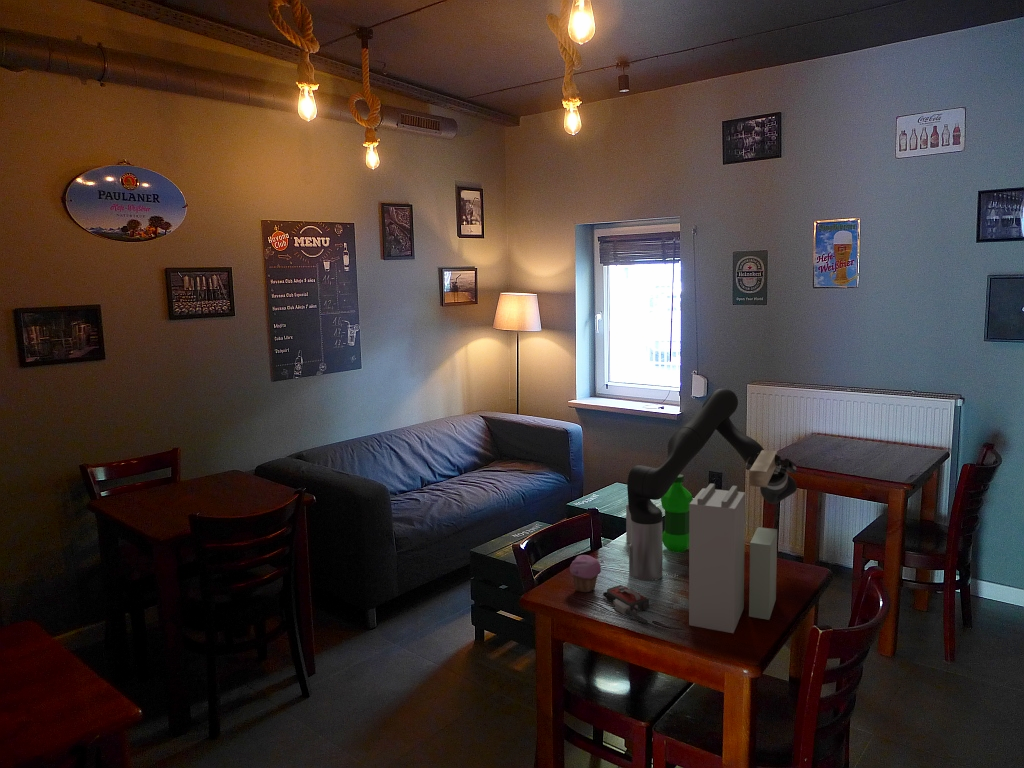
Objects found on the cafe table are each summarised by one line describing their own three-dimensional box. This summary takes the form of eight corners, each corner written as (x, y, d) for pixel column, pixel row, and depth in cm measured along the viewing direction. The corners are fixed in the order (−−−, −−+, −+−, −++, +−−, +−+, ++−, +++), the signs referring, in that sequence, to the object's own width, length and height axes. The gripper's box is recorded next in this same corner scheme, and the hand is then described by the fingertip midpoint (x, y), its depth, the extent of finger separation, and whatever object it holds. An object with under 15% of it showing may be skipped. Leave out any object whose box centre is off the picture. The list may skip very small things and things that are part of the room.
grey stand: (689, 625, 183) (689, 497, 179) (702, 601, 196) (702, 482, 192) (733, 633, 178) (734, 502, 174) (743, 608, 192) (745, 486, 187)
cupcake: (579, 581, 213) (578, 548, 211) (606, 587, 208) (605, 554, 207) (565, 592, 205) (564, 558, 204) (592, 598, 201) (592, 564, 199)
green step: (749, 616, 187) (750, 542, 184) (756, 596, 199) (757, 527, 196) (769, 619, 185) (770, 545, 182) (775, 599, 196) (777, 529, 194)
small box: (638, 546, 239) (638, 509, 238) (625, 541, 244) (625, 504, 243) (656, 541, 244) (656, 504, 242) (643, 536, 249) (643, 500, 247)
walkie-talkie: (596, 600, 200) (643, 628, 183) (596, 585, 200) (643, 612, 183) (621, 592, 205) (669, 619, 187) (621, 578, 204) (669, 603, 187)
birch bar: (749, 485, 180) (749, 470, 179) (761, 464, 200) (762, 450, 200) (766, 487, 178) (766, 471, 178) (776, 465, 199) (777, 451, 198)
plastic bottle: (698, 548, 236) (699, 474, 232) (681, 558, 228) (681, 481, 225) (672, 542, 243) (672, 469, 239) (654, 550, 235) (654, 476, 232)
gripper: (748, 459, 213) (741, 442, 198) (800, 463, 207) (796, 445, 192) (746, 484, 210) (738, 468, 196) (798, 489, 204) (794, 472, 190)
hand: (767, 457), depth 194 cm, fingers closed on birch bar, 4 cm apart
